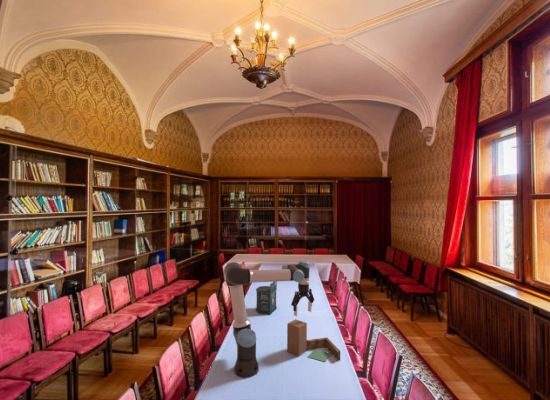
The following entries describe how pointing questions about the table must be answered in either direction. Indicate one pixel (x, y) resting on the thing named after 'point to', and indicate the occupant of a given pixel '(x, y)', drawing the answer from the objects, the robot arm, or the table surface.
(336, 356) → the wooden corner bracket
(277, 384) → the table surface
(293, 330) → the wooden block
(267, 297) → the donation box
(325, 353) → the pad
